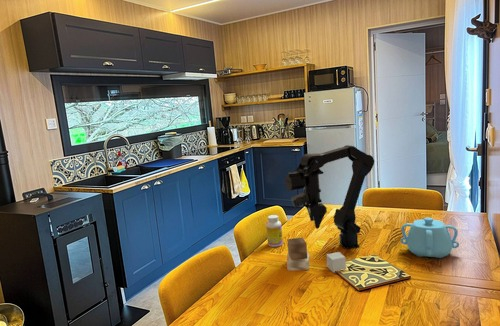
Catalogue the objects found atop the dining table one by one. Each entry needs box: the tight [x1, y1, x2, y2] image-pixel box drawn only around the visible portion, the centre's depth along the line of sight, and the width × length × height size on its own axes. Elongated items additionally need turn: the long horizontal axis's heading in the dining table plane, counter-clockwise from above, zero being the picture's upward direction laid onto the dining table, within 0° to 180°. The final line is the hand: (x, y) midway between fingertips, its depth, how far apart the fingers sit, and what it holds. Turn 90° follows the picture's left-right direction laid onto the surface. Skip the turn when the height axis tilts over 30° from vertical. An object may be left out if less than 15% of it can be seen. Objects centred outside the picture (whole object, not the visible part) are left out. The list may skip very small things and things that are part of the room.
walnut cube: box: [286, 236, 308, 260], centre depth 140 cm, size 6×6×6 cm
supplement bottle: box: [265, 214, 284, 248], centre depth 162 cm, size 7×7×13 cm
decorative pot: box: [400, 217, 460, 259], centre depth 139 cm, size 16×16×14 cm
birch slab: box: [286, 251, 310, 271], centre depth 140 cm, size 8×8×4 cm
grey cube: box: [326, 251, 347, 273], centre depth 135 cm, size 5×5×5 cm
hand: (314, 224), depth 147 cm, fingers open, 9 cm apart
